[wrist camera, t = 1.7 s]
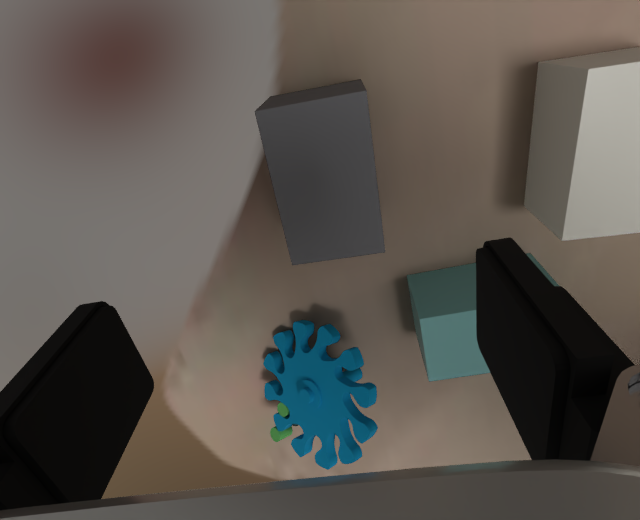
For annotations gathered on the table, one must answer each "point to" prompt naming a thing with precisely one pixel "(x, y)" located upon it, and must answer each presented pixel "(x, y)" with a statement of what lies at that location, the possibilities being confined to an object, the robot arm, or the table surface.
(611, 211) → the cream block
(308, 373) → the gear
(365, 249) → the charcoal block
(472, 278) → the teal block
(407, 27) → the table surface
